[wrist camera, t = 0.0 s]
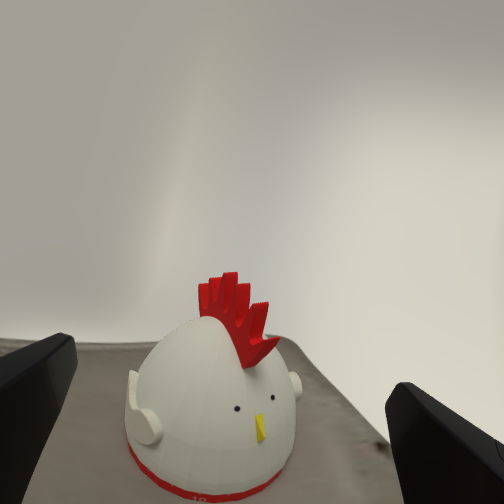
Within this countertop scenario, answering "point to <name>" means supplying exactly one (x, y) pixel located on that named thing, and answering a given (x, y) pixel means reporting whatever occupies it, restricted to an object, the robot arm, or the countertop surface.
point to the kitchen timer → (214, 401)
